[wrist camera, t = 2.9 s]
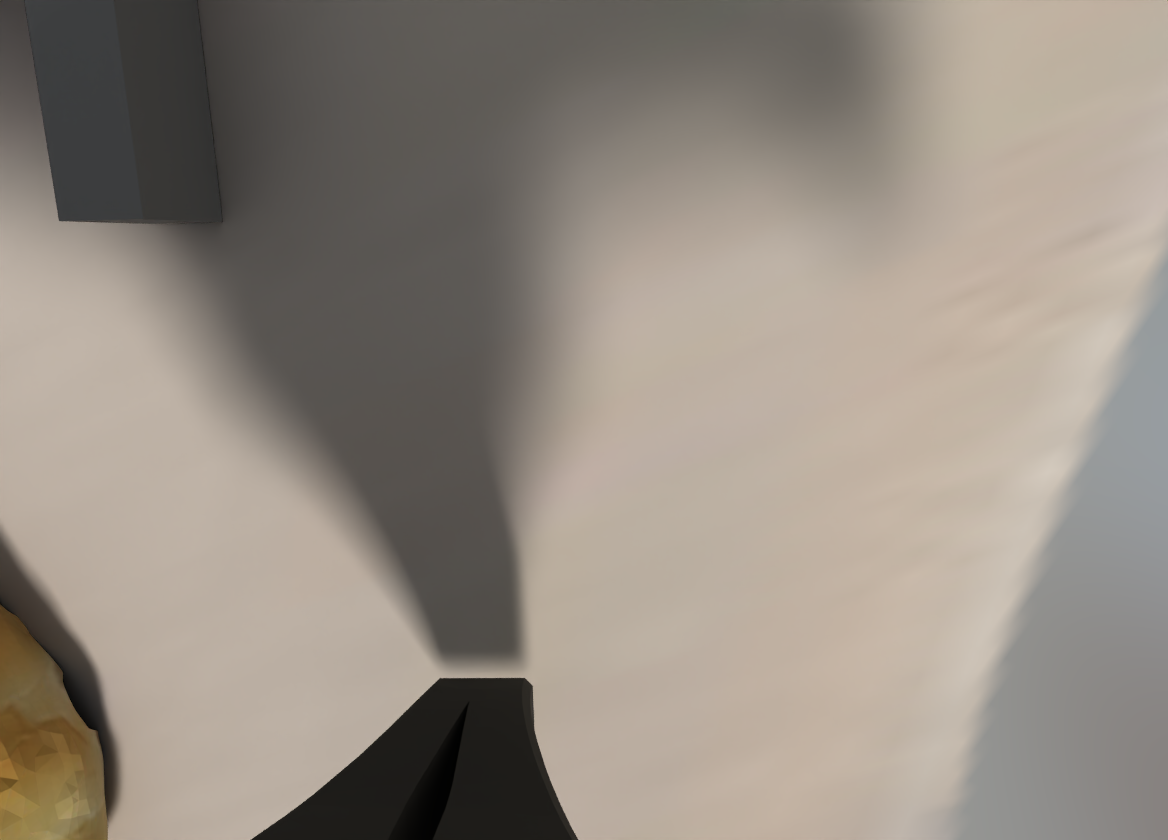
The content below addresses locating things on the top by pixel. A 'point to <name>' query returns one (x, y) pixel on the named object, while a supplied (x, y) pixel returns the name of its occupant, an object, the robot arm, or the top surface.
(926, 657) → the top surface
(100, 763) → the pastry
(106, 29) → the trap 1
